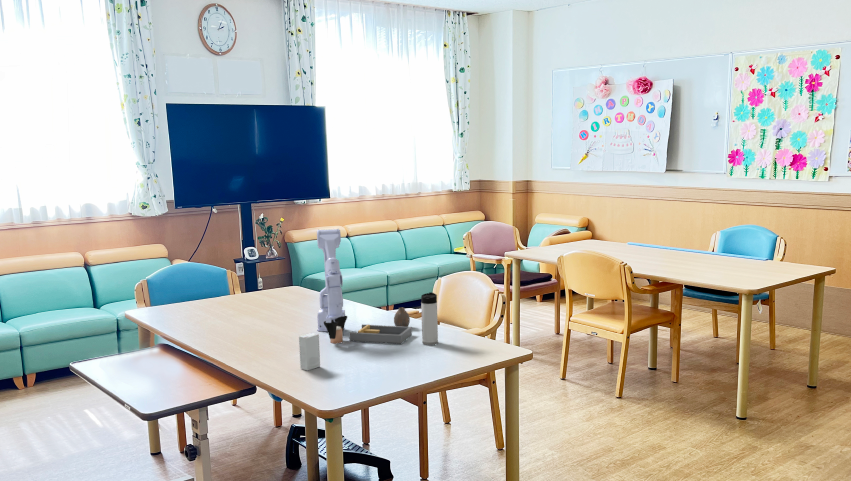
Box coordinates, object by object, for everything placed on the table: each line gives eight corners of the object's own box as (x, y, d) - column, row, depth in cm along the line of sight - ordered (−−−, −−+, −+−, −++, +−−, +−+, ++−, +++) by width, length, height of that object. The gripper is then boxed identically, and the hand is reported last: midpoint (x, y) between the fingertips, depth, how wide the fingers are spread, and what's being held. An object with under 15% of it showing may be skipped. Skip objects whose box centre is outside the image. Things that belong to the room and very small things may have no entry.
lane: (349, 341, 279) (349, 332, 278) (362, 332, 292) (362, 324, 292) (401, 344, 272) (400, 335, 272) (411, 335, 286) (411, 327, 285)
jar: (328, 343, 277) (327, 328, 276) (333, 339, 281) (332, 325, 281) (339, 343, 275) (339, 329, 274) (344, 340, 280) (344, 326, 279)
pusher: (358, 338, 279) (357, 331, 279) (367, 332, 290) (367, 324, 289) (374, 339, 277) (373, 331, 277) (383, 333, 288) (383, 325, 287)
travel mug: (440, 341, 275) (439, 292, 273) (435, 345, 269) (434, 296, 266) (425, 340, 277) (424, 292, 275) (420, 344, 271) (418, 295, 268)
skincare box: (312, 364, 248) (311, 332, 247) (321, 367, 245) (319, 334, 244) (299, 369, 244) (297, 335, 242) (307, 371, 241) (306, 337, 239)
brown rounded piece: (407, 330, 294) (407, 310, 293) (392, 329, 296) (391, 309, 295) (411, 326, 301) (411, 306, 300) (396, 325, 302) (395, 306, 301)
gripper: (336, 307, 268) (338, 341, 270) (351, 299, 282) (352, 332, 284) (320, 306, 270) (321, 340, 272) (335, 299, 284) (336, 331, 286)
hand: (336, 336), depth 278 cm, fingers open, 7 cm apart
